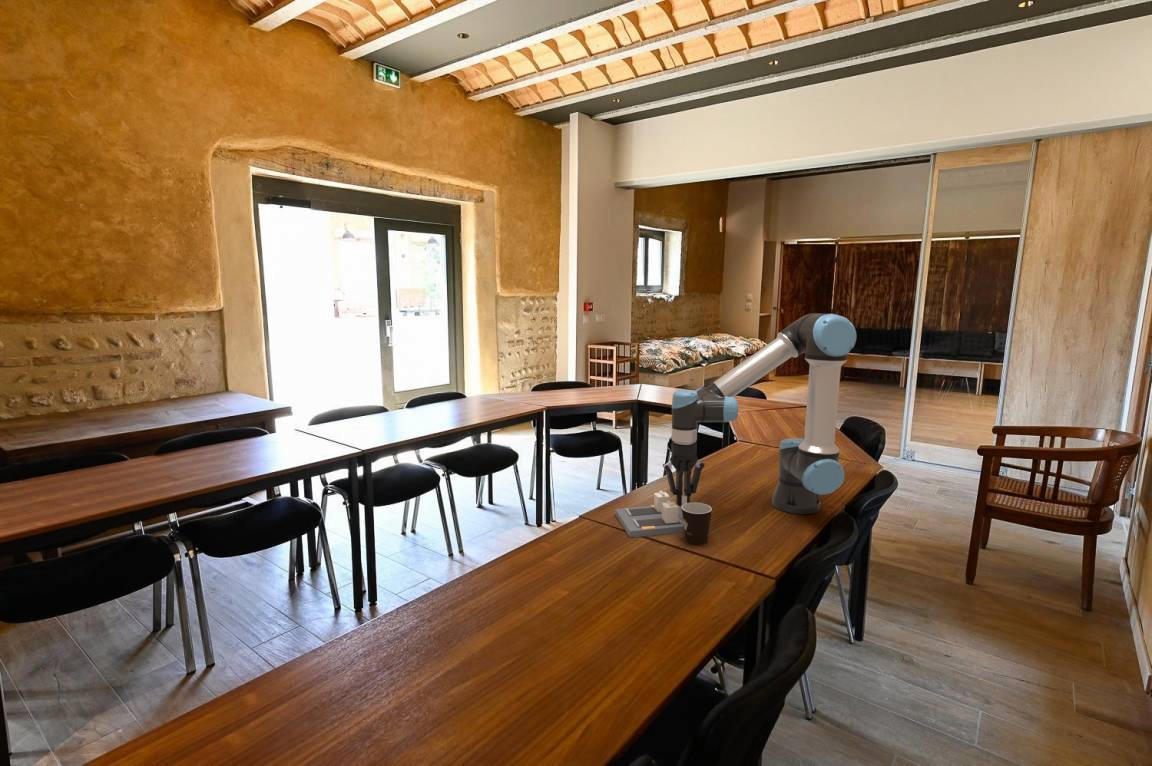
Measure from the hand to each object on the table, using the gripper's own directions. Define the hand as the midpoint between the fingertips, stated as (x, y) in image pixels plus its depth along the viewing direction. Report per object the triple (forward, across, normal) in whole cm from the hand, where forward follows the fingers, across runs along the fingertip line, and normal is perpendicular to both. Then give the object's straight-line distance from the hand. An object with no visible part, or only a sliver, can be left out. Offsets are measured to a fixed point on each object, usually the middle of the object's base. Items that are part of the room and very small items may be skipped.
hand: (682, 515), depth 175 cm
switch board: (+4, +8, -4) cm, 10 cm away
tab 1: (+1, +4, -9) cm, 10 cm away
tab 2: (+1, +4, 0) cm, 4 cm away
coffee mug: (+4, -1, +9) cm, 10 cm away
